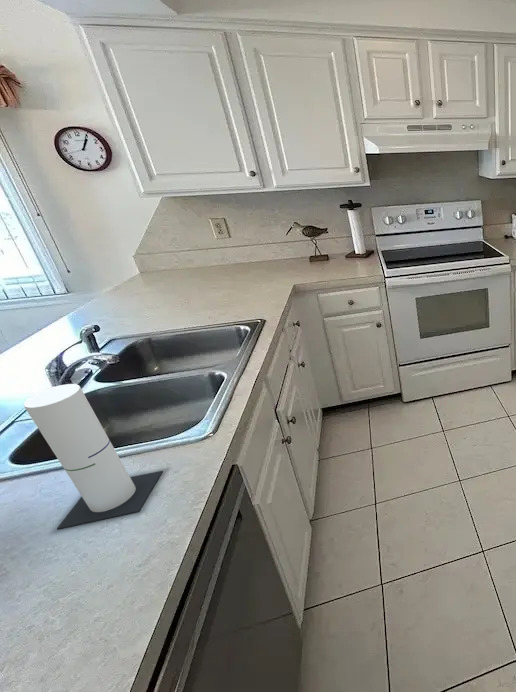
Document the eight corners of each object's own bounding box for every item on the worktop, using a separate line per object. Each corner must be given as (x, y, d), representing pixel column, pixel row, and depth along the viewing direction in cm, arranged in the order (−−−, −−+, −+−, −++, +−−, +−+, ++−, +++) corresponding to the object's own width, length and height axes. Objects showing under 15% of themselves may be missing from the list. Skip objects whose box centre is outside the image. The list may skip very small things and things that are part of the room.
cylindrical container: (143, 490, 84) (88, 389, 74) (101, 517, 79) (34, 411, 68) (124, 479, 87) (68, 380, 76) (82, 504, 81) (15, 401, 71)
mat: (57, 529, 77) (56, 528, 77) (91, 485, 86) (90, 484, 86) (139, 511, 80) (138, 510, 80) (163, 471, 90) (162, 470, 89)
